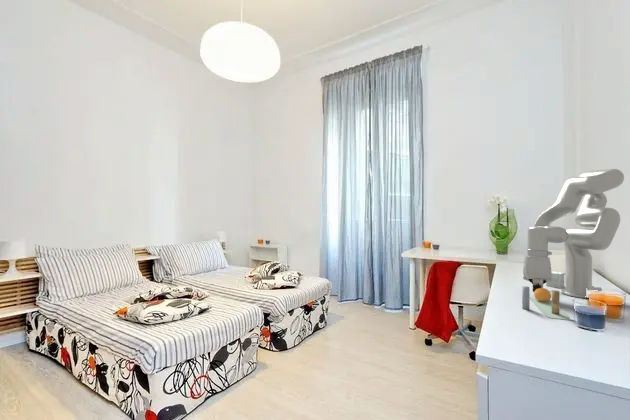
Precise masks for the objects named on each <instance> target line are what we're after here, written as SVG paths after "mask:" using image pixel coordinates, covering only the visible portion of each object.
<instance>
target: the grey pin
mask: <svg viewBox="0 0 630 420" xmlns="http://www.w3.org/2000/svg"><path fill="white" fill-rule="evenodd" d="M521 288H522V289H521V290H522V292H521V295H522V296H521V298H522V301H521V306H522V310H525V311H529V310H530V309H531V308H530V303H531V302H530V301H531V300H530V286H526V285H522V286H521Z"/></svg>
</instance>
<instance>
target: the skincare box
mask: <svg viewBox="0 0 630 420" xmlns="http://www.w3.org/2000/svg"><path fill="white" fill-rule="evenodd" d="M551 272H552V276H551V280H552V282H546V283H545V284H546V285H545V286H546V287H551V288H555V289H556V288H557V289H561V288H564V287H565V272H560V271H554V270H551Z"/></svg>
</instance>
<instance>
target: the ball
mask: <svg viewBox="0 0 630 420" xmlns="http://www.w3.org/2000/svg"><path fill="white" fill-rule="evenodd" d="M533 297H534V298H536V299H537V300H538V301H540V302H547V301H549V300H552V292H550V291H549V290H548V289H547V288H544V287H543V288H538V289H536V290H535V292H533Z"/></svg>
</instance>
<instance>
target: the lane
mask: <svg viewBox="0 0 630 420" xmlns="http://www.w3.org/2000/svg"><path fill="white" fill-rule="evenodd" d="M530 301H531V302H532V303H533V304H534V305H535V306H536V307H537V308H538V309H539V311H541V313H542V314H544V316H545V317H546V318H547V319H554V320H555V319H556V320H564V321H572V320H571V319H570V317H571V316H570V315H569V314H568V313H567V312H566V311H565V310H563V309H562V308H561V307H560V314H559V315H556V314H552V299H550V300H549V301H547V302H540V301H538V300H537V299H536V298H535V297H530ZM569 319H570V320H569Z"/></svg>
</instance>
